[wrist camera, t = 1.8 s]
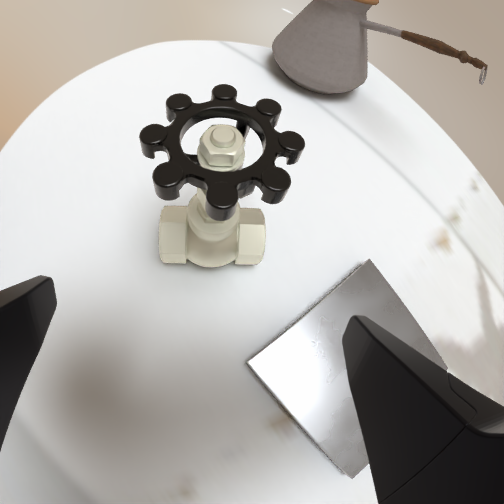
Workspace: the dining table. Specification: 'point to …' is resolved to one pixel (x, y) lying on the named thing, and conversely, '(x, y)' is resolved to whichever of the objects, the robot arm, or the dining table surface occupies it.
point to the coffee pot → (340, 46)
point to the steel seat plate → (334, 363)
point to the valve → (218, 178)
